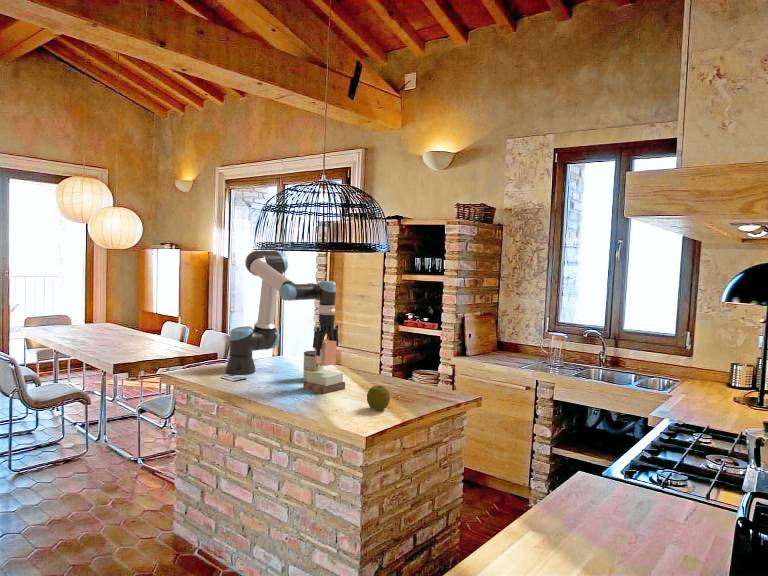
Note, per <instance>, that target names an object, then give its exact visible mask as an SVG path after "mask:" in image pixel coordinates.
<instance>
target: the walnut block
mask: <svg viewBox="0 0 768 576" xmlns="http://www.w3.org/2000/svg"><path fill="white" fill-rule="evenodd" d="M302 387H303V390H307V391H311V392H315V393H318V394H320V395H327V394H330V393H331V394H332V393H334V392H336V393H337V392H340V391H344V390H346V382H345V381H343V382H340V383H336V384H332V385H328V386H323V385H319V384H315V383H311V382H307V381H304V380H303V386H302Z"/></svg>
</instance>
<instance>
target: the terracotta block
mask: <svg viewBox="0 0 768 576" xmlns="http://www.w3.org/2000/svg"><path fill="white" fill-rule="evenodd" d="M321 349H322V363H318V362H317V356H316V348H314V351H315V364H319V365H323V366H324V367H327V366H332V365H333V366H334V365H336V363H337V347H336V341H331V340H329V339H328V338H327V339H325V338H324V340H323V342H322V346H321Z"/></svg>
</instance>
